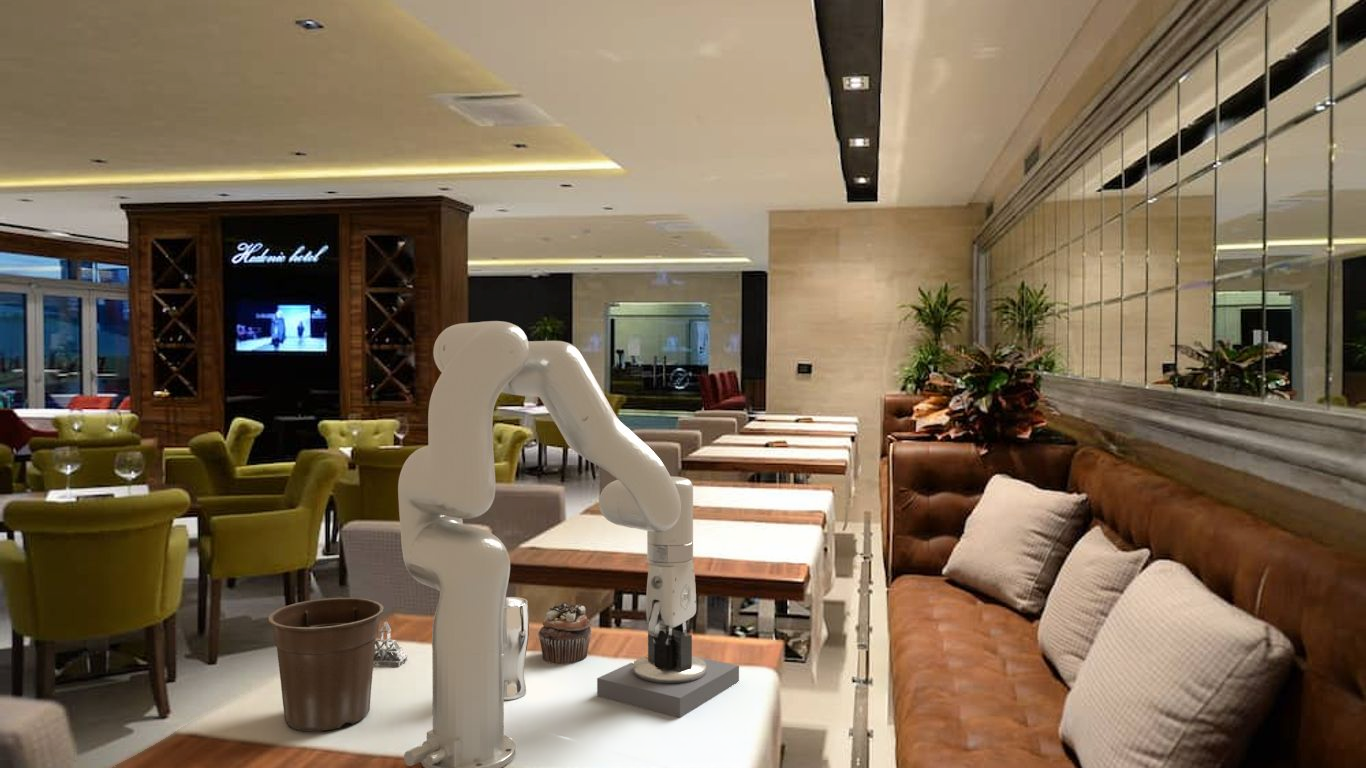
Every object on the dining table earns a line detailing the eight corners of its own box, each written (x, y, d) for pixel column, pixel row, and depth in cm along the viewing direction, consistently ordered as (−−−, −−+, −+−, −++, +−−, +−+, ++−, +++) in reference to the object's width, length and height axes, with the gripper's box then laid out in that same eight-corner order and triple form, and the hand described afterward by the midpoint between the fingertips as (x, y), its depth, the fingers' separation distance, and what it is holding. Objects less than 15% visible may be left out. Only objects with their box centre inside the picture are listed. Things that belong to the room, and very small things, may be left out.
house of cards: (428, 654, 171) (428, 613, 170) (408, 670, 162) (408, 626, 162) (382, 652, 172) (381, 611, 172) (360, 668, 163) (359, 625, 163)
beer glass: (519, 703, 145) (519, 608, 145) (478, 699, 147) (478, 606, 146) (535, 688, 152) (535, 597, 152) (495, 685, 154) (495, 595, 153)
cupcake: (596, 651, 172) (596, 598, 171) (583, 668, 162) (583, 612, 162) (547, 649, 173) (547, 596, 173) (531, 665, 164) (531, 609, 163)
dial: (721, 671, 151) (721, 631, 151) (667, 688, 143) (667, 647, 143) (671, 654, 160) (671, 617, 160) (618, 669, 152) (618, 630, 151)
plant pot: (376, 733, 133) (376, 623, 133) (257, 742, 130) (256, 629, 130) (389, 694, 149) (388, 595, 149) (283, 701, 146) (282, 600, 146)
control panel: (680, 717, 140) (680, 696, 139) (597, 696, 148) (597, 676, 148) (738, 683, 155) (739, 664, 155) (660, 666, 163) (660, 648, 163)
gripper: (668, 564, 142) (668, 683, 142) (711, 545, 157) (711, 652, 157) (625, 560, 145) (625, 676, 145) (671, 542, 160) (671, 646, 160)
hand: (669, 662), depth 151 cm, fingers closed on dial, 3 cm apart
